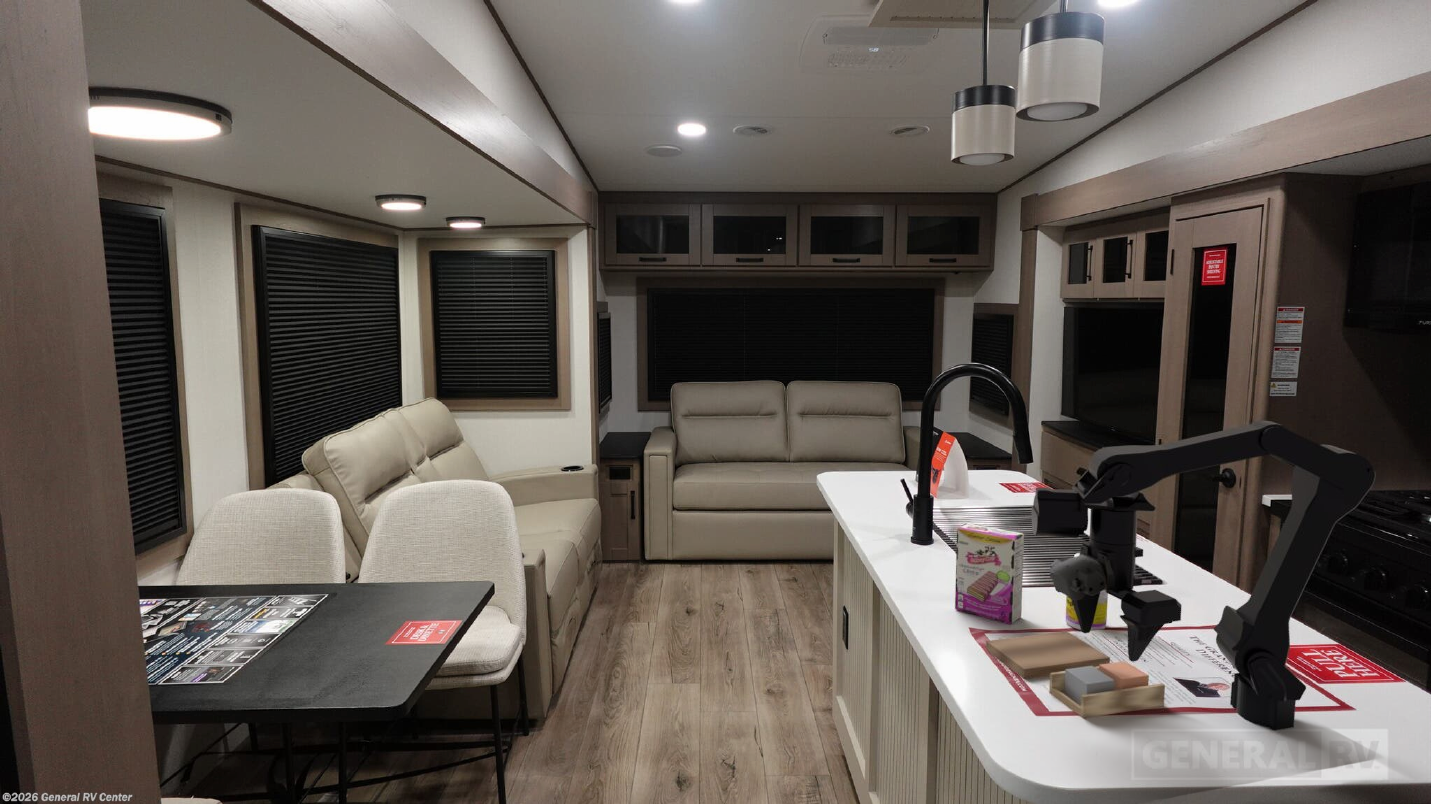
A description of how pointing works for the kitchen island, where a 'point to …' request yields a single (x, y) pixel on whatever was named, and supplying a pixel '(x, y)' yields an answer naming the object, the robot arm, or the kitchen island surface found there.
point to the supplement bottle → (1100, 613)
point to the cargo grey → (1086, 682)
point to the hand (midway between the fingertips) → (1108, 646)
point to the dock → (1045, 653)
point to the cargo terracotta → (1124, 675)
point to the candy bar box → (989, 572)
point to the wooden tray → (1108, 698)
